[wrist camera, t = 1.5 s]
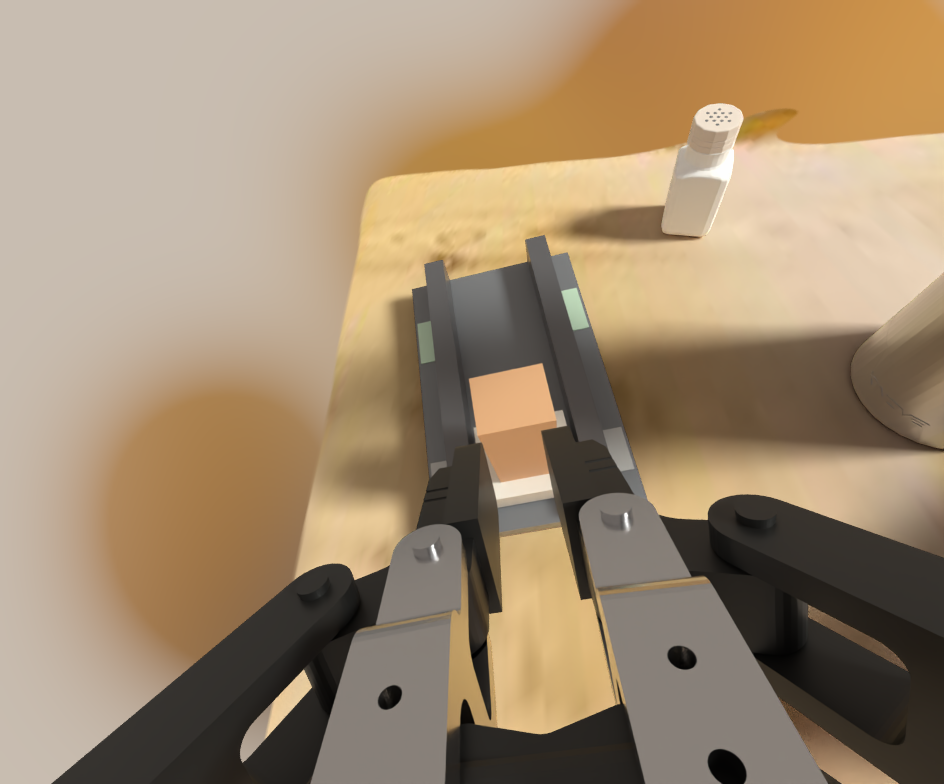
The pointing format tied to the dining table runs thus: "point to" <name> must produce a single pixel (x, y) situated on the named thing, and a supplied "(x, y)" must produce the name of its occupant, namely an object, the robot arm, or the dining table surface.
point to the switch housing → (514, 361)
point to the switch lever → (515, 431)
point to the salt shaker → (702, 171)
